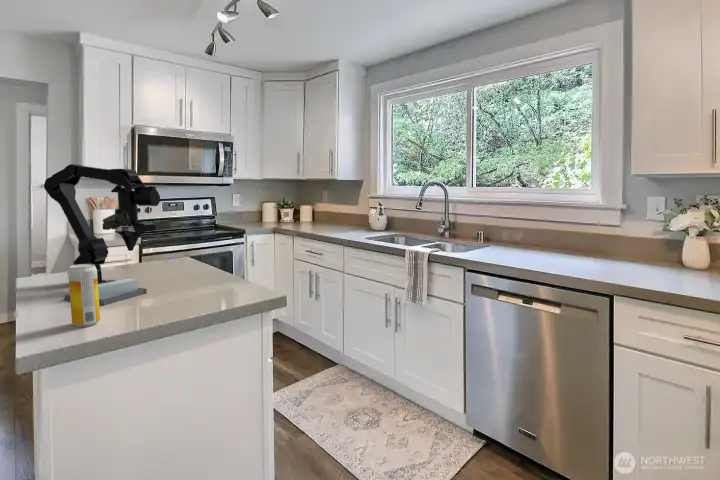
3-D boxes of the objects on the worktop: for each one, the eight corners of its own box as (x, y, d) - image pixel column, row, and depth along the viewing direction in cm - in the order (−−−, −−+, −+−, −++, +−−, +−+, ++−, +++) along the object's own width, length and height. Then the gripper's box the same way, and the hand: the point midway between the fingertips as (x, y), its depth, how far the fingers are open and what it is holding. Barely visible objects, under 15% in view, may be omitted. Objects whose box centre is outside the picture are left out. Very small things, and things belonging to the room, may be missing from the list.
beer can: (93, 318, 114) (89, 262, 112) (105, 323, 110) (101, 265, 109) (67, 324, 109) (63, 266, 107) (79, 329, 106) (74, 269, 104)
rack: (62, 300, 131) (61, 288, 131) (109, 288, 146) (108, 278, 145) (101, 306, 125) (101, 294, 125) (146, 293, 140) (146, 282, 140)
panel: (92, 301, 131) (91, 285, 130) (131, 293, 141) (130, 278, 140) (98, 303, 129) (97, 287, 128) (138, 295, 138) (137, 280, 138)
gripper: (86, 206, 144) (89, 252, 146) (128, 207, 138) (131, 256, 140) (115, 204, 154) (118, 247, 156) (155, 206, 148) (158, 251, 150)
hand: (130, 250), depth 150 cm, fingers closed
